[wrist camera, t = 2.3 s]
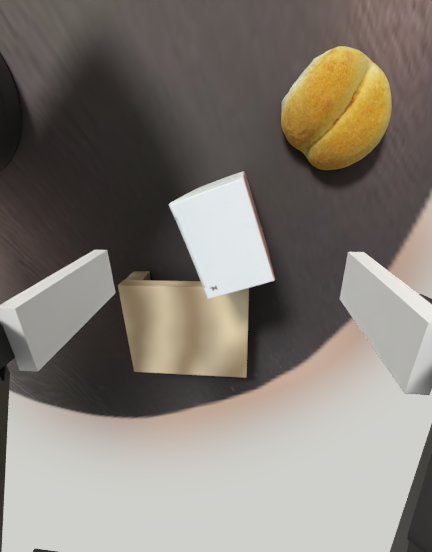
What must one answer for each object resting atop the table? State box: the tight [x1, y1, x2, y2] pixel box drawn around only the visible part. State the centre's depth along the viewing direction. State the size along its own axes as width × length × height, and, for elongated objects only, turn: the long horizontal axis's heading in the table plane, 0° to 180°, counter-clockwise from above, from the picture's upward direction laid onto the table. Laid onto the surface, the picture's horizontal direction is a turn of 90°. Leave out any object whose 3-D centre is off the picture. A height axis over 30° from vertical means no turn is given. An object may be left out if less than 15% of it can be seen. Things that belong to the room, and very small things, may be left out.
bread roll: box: [281, 46, 392, 170], centre depth 22 cm, size 8×9×4 cm
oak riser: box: [118, 271, 249, 378], centre depth 32 cm, size 14×12×4 cm
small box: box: [169, 171, 275, 299], centre depth 24 cm, size 8×6×10 cm
